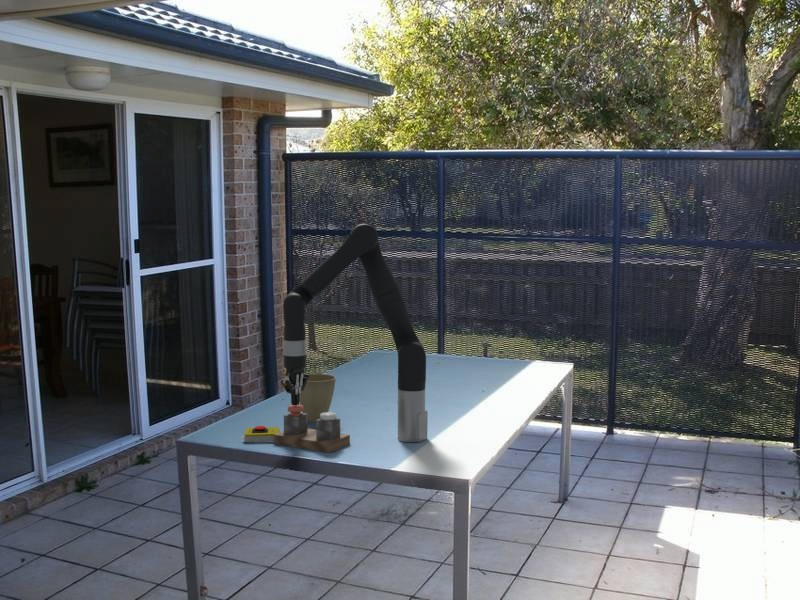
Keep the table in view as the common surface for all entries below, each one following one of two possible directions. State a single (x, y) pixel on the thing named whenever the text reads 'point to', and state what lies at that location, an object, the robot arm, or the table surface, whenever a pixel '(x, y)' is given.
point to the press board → (311, 434)
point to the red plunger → (295, 409)
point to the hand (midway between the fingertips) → (295, 404)
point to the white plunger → (328, 416)
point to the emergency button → (260, 434)
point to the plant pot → (317, 395)
